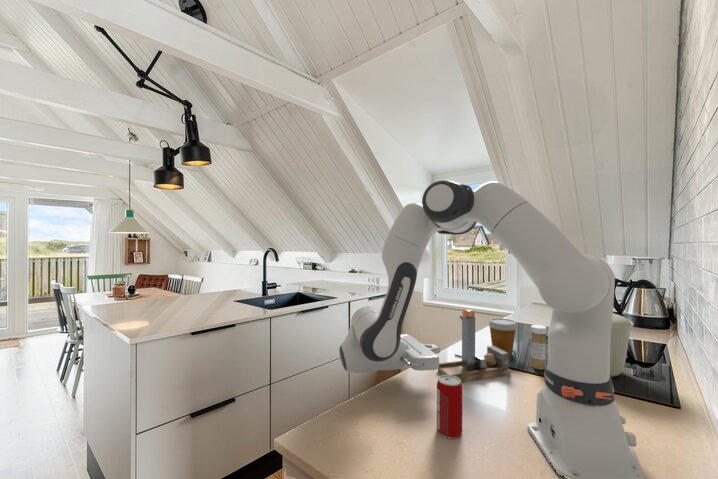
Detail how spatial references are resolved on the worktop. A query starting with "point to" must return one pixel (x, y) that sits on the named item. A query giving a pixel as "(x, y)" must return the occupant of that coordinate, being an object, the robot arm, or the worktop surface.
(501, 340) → the disposable coffee cup
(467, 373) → the cracker bench
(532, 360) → the sprinkles bottle
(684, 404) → the worktop surface
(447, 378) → the soda can
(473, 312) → the slider
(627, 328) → the canister
